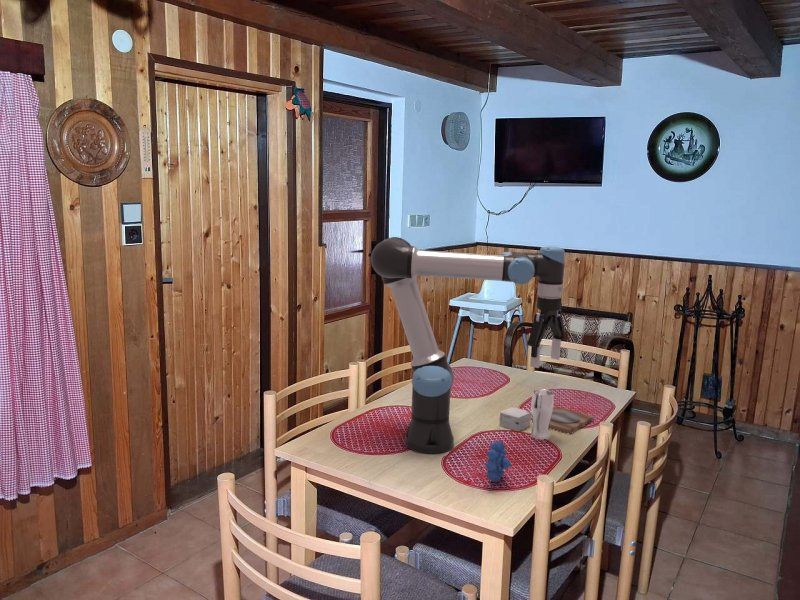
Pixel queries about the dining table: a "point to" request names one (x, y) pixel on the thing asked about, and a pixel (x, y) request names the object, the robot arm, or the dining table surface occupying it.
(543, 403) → the beer glass
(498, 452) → the grapes
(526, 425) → the small box
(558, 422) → the walnut board
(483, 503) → the dining table surface
